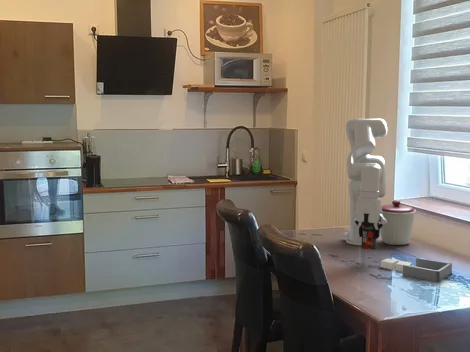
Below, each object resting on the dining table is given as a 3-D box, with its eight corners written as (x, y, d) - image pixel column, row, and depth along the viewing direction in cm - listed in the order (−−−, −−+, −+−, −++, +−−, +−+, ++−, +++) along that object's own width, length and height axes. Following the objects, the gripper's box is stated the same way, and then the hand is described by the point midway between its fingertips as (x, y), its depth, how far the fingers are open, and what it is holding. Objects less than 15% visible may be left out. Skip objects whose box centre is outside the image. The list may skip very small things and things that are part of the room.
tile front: (395, 271, 217) (396, 263, 217) (399, 268, 221) (399, 260, 221) (408, 273, 214) (408, 265, 214) (411, 269, 219) (412, 262, 218)
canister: (418, 248, 251) (419, 203, 249) (378, 247, 254) (379, 203, 252) (411, 239, 269) (413, 197, 267) (374, 238, 272) (375, 196, 269)
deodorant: (377, 247, 228) (378, 212, 226) (373, 250, 223) (374, 214, 221) (363, 245, 231) (364, 211, 229) (359, 248, 226) (360, 213, 224)
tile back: (381, 267, 222) (381, 260, 222) (387, 265, 225) (387, 258, 225) (392, 270, 218) (392, 263, 218) (398, 267, 222) (398, 260, 221)
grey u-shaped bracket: (402, 275, 211) (403, 265, 210) (416, 266, 222) (416, 257, 221) (438, 282, 202) (439, 271, 202) (451, 273, 213) (451, 263, 212)
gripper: (346, 194, 227) (346, 236, 229) (385, 197, 216) (384, 242, 218) (355, 192, 233) (354, 233, 235) (393, 195, 222) (392, 238, 223)
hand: (369, 237), depth 226 cm, fingers closed on deodorant, 5 cm apart
